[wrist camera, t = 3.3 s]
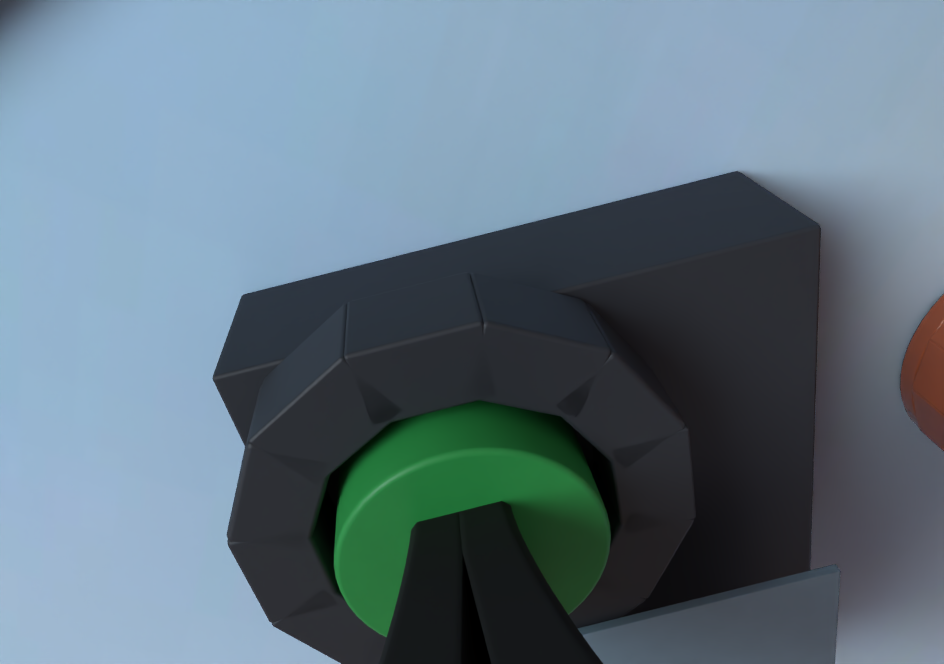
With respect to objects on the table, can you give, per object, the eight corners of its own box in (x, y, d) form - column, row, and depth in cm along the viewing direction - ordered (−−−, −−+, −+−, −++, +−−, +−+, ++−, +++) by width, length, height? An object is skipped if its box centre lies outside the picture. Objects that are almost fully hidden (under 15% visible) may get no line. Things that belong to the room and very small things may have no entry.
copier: (751, 609, 20) (845, 777, 16) (404, 695, 20) (411, 885, 16) (737, 132, 13) (893, 219, 9) (216, 262, 13) (148, 405, 9)
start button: (593, 528, 13) (626, 618, 11) (378, 582, 13) (378, 680, 11) (559, 343, 11) (593, 418, 9) (305, 407, 11) (292, 493, 9)
